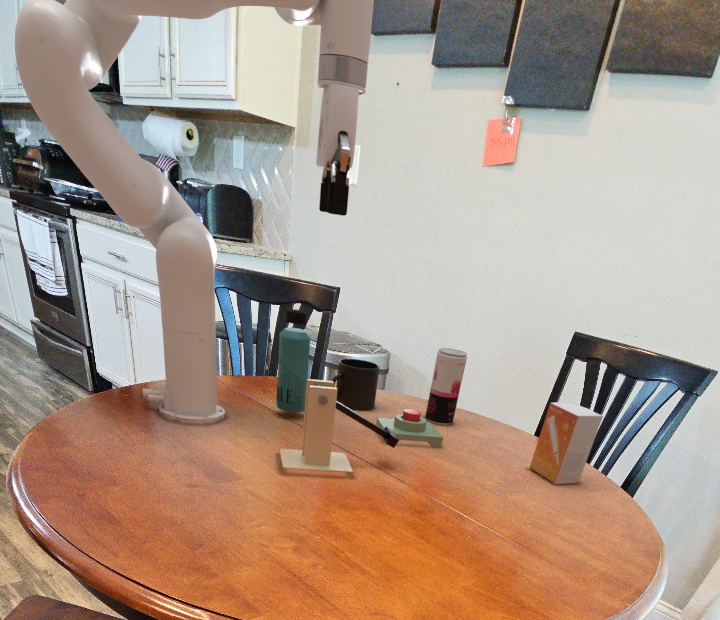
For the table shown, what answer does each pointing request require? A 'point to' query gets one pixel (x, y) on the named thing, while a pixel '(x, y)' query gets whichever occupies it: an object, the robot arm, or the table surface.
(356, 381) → the mug
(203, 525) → the table surface
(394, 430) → the control block
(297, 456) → the bracket
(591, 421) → the small box
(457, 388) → the beverage can
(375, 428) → the lever
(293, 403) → the beverage bottle
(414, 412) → the button
